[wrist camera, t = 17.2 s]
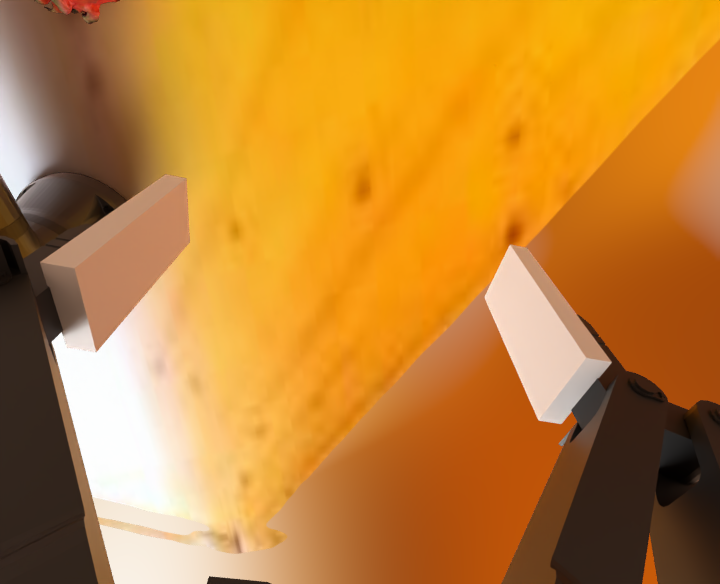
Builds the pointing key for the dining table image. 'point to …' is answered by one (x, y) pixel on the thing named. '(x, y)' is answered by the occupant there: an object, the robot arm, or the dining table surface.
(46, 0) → the dragon fruit
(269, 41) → the dining table surface
